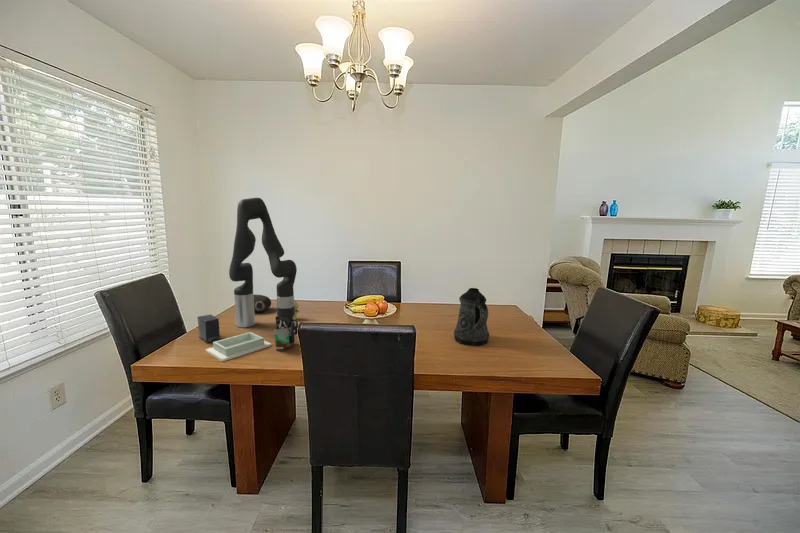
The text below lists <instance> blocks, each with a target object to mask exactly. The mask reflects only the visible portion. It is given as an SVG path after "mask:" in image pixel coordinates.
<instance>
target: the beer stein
mask: <svg viewBox="0 0 800 533" xmlns="http://www.w3.org/2000/svg"><path fill="white" fill-rule="evenodd" d="M458 300H459V303H460V306H459V312H458V317H457V322H456V326H455V329H454V330H453V335H454V341H455V342H457V343H458V344H460V345H463V346H468V347H469V346H470V347H480V346H484V345H486V344H488V342H489V338H490V332H489V330H488V325H487V324H488V323H487V321H488V318H489V308H488V305H487V304H486V302H487V298H486V297H485V295H484V294H483V293H481V292H480V290H479V289H478V288H476V287H470V288H468V290H466V292H464V293H462V294H461V295H460V296H459V299H458Z"/></svg>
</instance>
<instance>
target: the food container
mask: <svg viewBox="0 0 800 533" xmlns="http://www.w3.org/2000/svg"><path fill="white" fill-rule="evenodd" d="M290 328H291V327H290ZM290 328H285V327H283V326H281V327H280V328H279V329H276V328H275V329H273V336H274V340H275V349H276V350H275V351H277V352H281V351H287V350H291V349H293V347H294V346H295V342H294V343H292V344H290V343H289V331H288V329H289V330H290ZM290 331H291V330H290Z"/></svg>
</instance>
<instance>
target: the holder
mask: <svg viewBox="0 0 800 533" xmlns="http://www.w3.org/2000/svg"><path fill="white" fill-rule="evenodd" d="M269 347H272V343H270V342H269V341H266V340H265V337H263V336H261V335H258V334H256V333H253V332H251V331H249V332H245V333H242V334H239V335H234V336H229V337H227V338H224V339H220V340H216V341H212V347H208V348H205V353H207V354H209V355H210V356H212V357H214V358H215V359H217V360H218V361H221V362H226V361H229V360H231V359H235V358H237V357H242V356H244V355H248V354H250V353H255V352H257V351H260V350H264V349H267V348H269Z"/></svg>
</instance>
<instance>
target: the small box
mask: <svg viewBox="0 0 800 533" xmlns="http://www.w3.org/2000/svg"><path fill="white" fill-rule="evenodd" d="M196 318H197V325H198V338H199V339H201V340H202V341H203V342H205V343H206V344H207V343H211V342H216V341H219V340H221V334H220V321H219V320H220V319H219V318H218V317H216V316H214V315H212V314H206V315H200V316H197V317H196Z"/></svg>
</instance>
